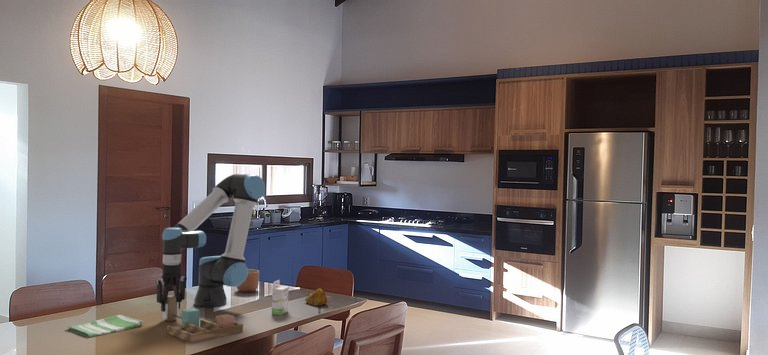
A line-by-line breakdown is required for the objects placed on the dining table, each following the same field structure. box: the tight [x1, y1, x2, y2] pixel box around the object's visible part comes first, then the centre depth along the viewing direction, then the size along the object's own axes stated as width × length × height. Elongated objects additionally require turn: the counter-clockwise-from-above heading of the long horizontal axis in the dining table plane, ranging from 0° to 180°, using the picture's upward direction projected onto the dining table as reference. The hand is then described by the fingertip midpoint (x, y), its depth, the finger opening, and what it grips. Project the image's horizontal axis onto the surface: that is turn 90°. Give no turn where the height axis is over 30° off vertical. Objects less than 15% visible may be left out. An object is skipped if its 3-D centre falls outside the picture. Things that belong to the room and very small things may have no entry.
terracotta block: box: [216, 313, 235, 327], centre depth 238 cm, size 5×5×6 cm
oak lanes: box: [166, 315, 244, 343], centre depth 235 cm, size 18×23×3 cm
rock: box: [304, 288, 328, 306], centre depth 292 cm, size 11×8×10 cm
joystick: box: [164, 295, 200, 328], centre depth 247 cm, size 21×5×10 cm, turn 49°
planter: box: [236, 268, 260, 293], centre depth 318 cm, size 12×12×11 cm
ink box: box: [271, 279, 290, 316], centre depth 271 cm, size 9×5×15 cm, turn 168°
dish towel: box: [66, 314, 144, 339], centre depth 238 cm, size 18×23×3 cm
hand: (170, 317), depth 253 cm, fingers closed on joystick, 4 cm apart
